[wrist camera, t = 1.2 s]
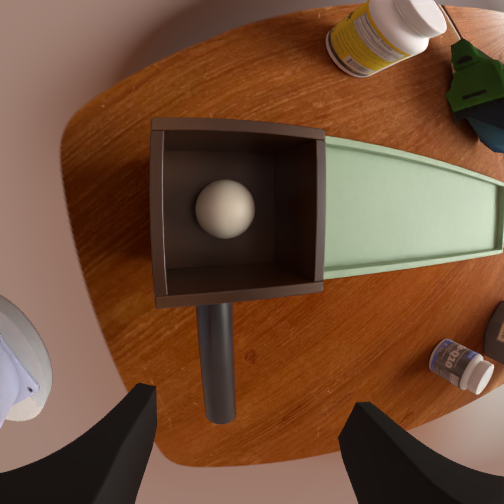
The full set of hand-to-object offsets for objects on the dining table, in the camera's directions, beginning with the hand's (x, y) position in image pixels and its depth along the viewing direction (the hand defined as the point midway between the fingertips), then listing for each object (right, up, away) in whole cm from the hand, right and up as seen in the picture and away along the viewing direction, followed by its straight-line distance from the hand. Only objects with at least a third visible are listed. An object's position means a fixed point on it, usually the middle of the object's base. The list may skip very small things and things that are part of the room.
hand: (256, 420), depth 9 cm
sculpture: (+27, +25, +17) cm, 41 cm away
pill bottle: (+24, -7, +22) cm, 33 cm away
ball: (-1, +8, +5) cm, 9 cm away
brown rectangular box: (-2, +5, +7) cm, 9 cm away
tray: (+19, +10, +17) cm, 27 cm away
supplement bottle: (+8, +23, +11) cm, 27 cm away
